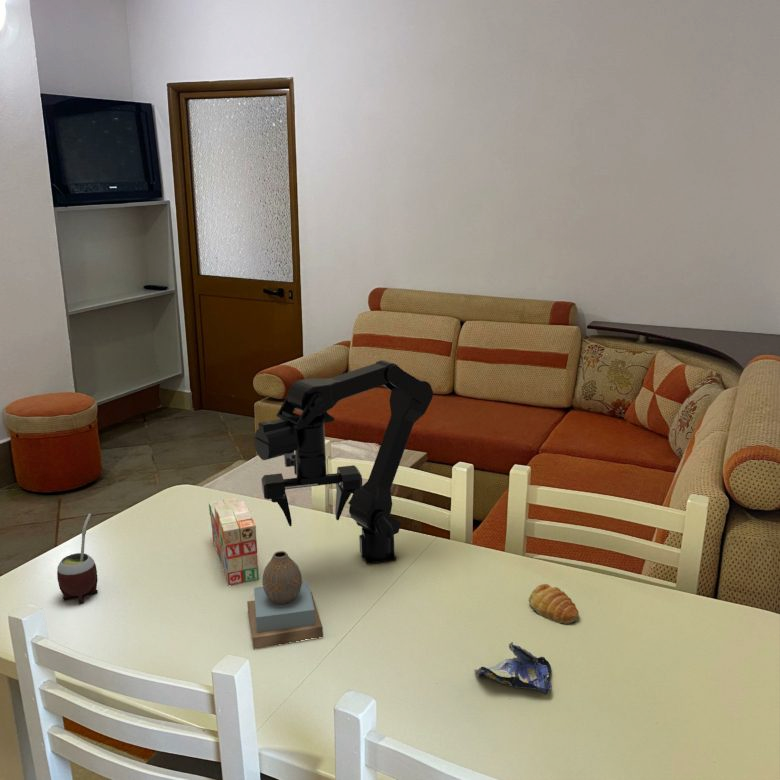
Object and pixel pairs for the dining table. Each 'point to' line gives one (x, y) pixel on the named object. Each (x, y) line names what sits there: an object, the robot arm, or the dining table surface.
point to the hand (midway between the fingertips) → (313, 522)
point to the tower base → (282, 630)
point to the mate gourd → (77, 573)
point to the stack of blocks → (235, 540)
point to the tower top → (284, 611)
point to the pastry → (553, 604)
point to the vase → (282, 579)
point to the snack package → (521, 670)
